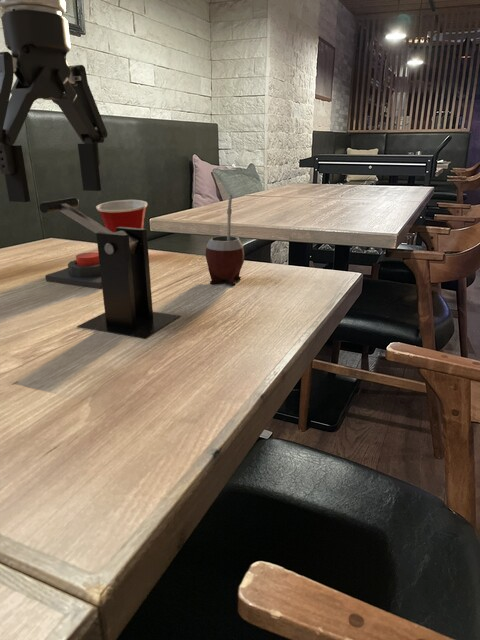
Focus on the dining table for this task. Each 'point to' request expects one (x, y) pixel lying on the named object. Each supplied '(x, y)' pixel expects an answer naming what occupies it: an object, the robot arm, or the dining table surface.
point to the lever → (81, 217)
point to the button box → (77, 276)
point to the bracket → (126, 287)
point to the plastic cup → (122, 214)
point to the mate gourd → (225, 256)
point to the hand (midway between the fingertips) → (59, 195)
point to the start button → (87, 259)
